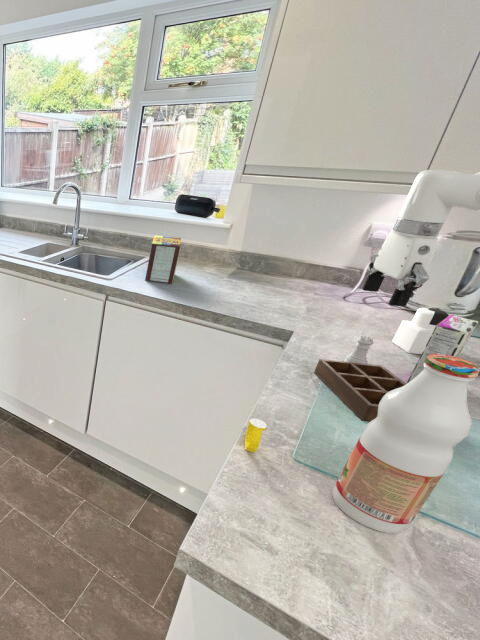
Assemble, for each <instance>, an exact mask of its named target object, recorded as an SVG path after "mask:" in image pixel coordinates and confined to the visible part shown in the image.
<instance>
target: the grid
mask: <svg viewBox="0 0 480 640" xmlns="http://www.w3.org/2000/svg"><path fill="white" fill-rule="evenodd" d="M313 374H314V375H315V376H316V377H317V378H318V379H319V380H320V381H321V382H322V383H323V384H324V385H325V386H326V387H327V388H328V389H329V390H330V391H331V392H332V393H333V394H334V395H335V396H336V397H337V398H338V399H339V400H340V401H341V402H342V403H343V404H344V405H345V406H346V407H347V408H348V409H349V410H350V411H351V412H352V413H353V414H354V415H355V416H356V417H357V418H358V419H359V420H360V421H361V422H364V423H365V422H366V423H369V422H370V421H372V420H373V419H375V418H376V417H377V414H378V405H379V402H380V401H381V399H382V398H383V396H384V395H385V394H386V393H388V392H390V391H392V390H394V389H397V388H400V387H402V386H404V385H406V384H407V382H405V381H403V380H402V379H401V378H400V377H398V376H397V375H396V374H394V373H393V372H391V371H390V370H389V369H387V368H386V367H385V366H384V365H382V364H381V365H380V364H374V363H373V364H372V363H367V364H363V363H353V362H345V361H342V360H333V359H332V360H331V359H322V358H319V360H318V362H317V364H316V366H315V369H314V371H313Z"/></svg>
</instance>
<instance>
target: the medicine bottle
mask: <svg viewBox="0 0 480 640" xmlns="http://www.w3.org/2000/svg"><path fill="white" fill-rule="evenodd" d="M449 315H450V314H449V313H447V312H445V310H441V309H438V308H435V307H419V308H418V309H416V312H415V314H414V315H413V318H412V319H411V320H401V321H400V323H399V325H398V328H397V330H396V331H395V334H394V336H393V338H392V340H391V343H392V344H394V345H396V346H397V347H398V348H400V349H402V350H403V351H404V352H406V353H408V354H411V355H412V354H415V355H422V353H423V351H424V349H425V347H426V345H427V343H428V341H429V339H430V337H431V335H432V333H433V331H434V329H435V327H436V325H438V324H439V323H440V322H442V321H443V320H444V319H446V318H447V317H448V316H449Z"/></svg>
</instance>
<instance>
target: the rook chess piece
mask: <svg viewBox="0 0 480 640" xmlns="http://www.w3.org/2000/svg"><path fill="white" fill-rule="evenodd" d="M356 341H357V343H355V347H354V349H353V350H352V352H351V353H349V354H347V355H346V356H345V359H344V361H343V362H353V363H363V364H368V360H367V354H368V351H369V349H371V347H370V346H372V345H374V338H373V337H371V336H367V335H360V336H359V337H358V338H356Z"/></svg>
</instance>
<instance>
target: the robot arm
mask: <svg viewBox="0 0 480 640" xmlns="http://www.w3.org/2000/svg"><path fill="white" fill-rule="evenodd" d="M452 208H458V209H463V210H467V211H468V210H469V211H473V212H480V171H478V172H476V173H465V172H462V171H459V170H449V169H424V170H422V171H420V172H419V173H418V174H417V175H416V176H415V178H414V180H413V183H412V185H411V187H410V189H409V191H408V193H407V196H406V198H405V200H404V202H403V204H402V206H401V209H400V211H399V213H398V214H397V217H396V219H395V222H394V224H393V226H392V228H391V231H390V232H389V234H388V235H387V236H386V238H385V239H384V242H383V243H382V245H381V247H380V249H379V251H378V253H374V254H371V255H370V263H369V264H368V267H369V270H368V271H367V278H366V280H365V282H364V284H363V285H362V286H363V287H362V288H361V289H362V290H363V291H364V292H375V293H377V292H378V291H379V290H380V288H381V286H382V284H383V281H384V280H385V276H384V275H386V276H388V277H391V278H393V279H395V280H397V285H398V288H395V289H394V291H393V293H392V295H391V297H390V299H389V301H388V305H389V306H392V307H406V306H407V304H408V303H409V301H410V299H411V297H412V295H413V293H414V292H416V291H417V290H418V289H419V288H422V287H423V285H424V284H425V283H426V282H427V281H429V279H430V276H429V275H428V273H427V272H428V270H429V268H430V266H431V263H432V261H433V258H434V256H435V253H436V249H437V246H438V242H439V238H438V236H439V234H440V232H441V231H442V228H443V226H444V224H445V222H446V220H447V218H448V216H449V214H450V212H451V210H452ZM406 282H407V283H406Z"/></svg>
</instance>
